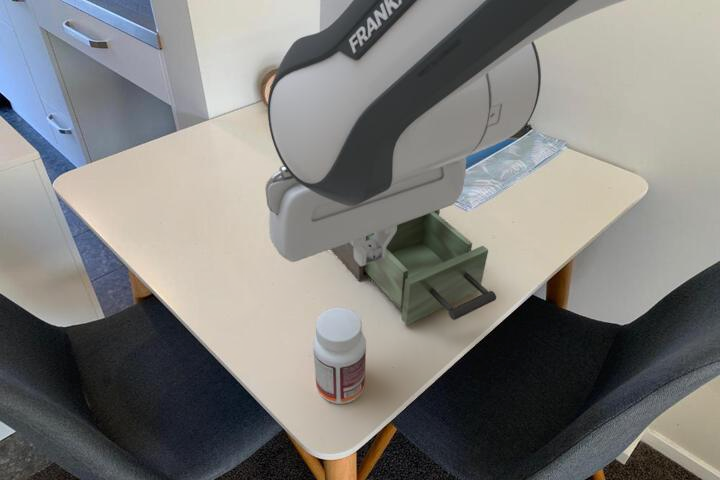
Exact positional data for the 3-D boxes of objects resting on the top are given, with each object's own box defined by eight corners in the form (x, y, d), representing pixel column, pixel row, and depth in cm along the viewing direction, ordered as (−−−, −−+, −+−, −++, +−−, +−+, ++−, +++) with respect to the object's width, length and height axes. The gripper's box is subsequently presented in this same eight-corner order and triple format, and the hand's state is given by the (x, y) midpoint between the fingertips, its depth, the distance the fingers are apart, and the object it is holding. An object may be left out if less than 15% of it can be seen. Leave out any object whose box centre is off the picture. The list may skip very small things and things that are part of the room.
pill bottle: (367, 366, 68) (369, 305, 60) (362, 408, 63) (363, 347, 56) (320, 362, 68) (316, 301, 61) (311, 403, 63) (306, 342, 56)
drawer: (507, 314, 74) (518, 273, 69) (431, 353, 68) (438, 312, 63) (425, 241, 86) (429, 202, 82) (355, 268, 81) (356, 229, 76)
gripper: (279, 190, 40) (292, 314, 49) (483, 129, 48) (463, 245, 57) (248, 154, 44) (265, 274, 53) (441, 103, 52) (428, 215, 61)
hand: (369, 258), depth 55 cm, fingers closed
